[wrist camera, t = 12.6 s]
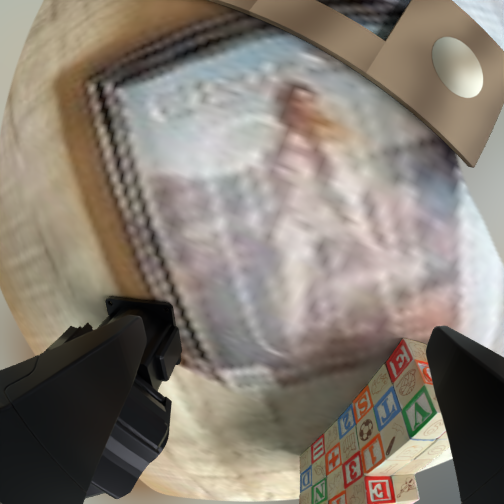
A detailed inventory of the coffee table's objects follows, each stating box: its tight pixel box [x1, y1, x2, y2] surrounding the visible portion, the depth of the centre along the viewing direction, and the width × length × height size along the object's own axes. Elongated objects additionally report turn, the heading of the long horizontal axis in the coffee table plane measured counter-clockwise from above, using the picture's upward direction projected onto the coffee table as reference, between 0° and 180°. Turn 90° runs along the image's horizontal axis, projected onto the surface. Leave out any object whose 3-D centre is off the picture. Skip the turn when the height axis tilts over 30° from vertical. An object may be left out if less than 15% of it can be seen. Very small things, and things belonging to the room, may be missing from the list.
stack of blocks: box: [299, 338, 450, 504], centre depth 21 cm, size 21×6×12 cm, turn 160°
